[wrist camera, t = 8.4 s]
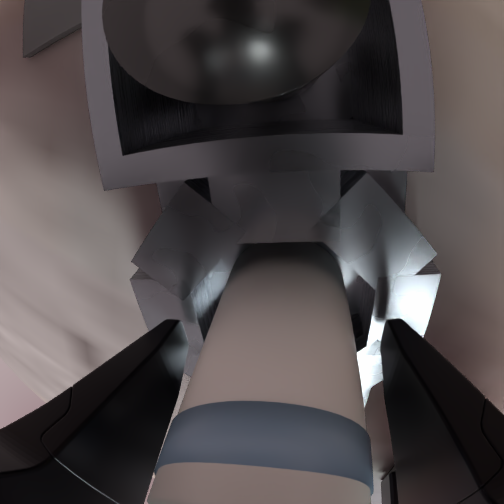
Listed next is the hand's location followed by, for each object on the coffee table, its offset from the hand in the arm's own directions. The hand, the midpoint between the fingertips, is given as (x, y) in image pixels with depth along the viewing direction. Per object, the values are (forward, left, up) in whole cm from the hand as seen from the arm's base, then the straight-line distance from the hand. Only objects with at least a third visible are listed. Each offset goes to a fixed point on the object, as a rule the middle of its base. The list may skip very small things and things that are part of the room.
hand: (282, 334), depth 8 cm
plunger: (0, -7, -2) cm, 7 cm away
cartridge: (0, 0, -2) cm, 2 cm away
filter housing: (0, 0, -2) cm, 2 cm away
